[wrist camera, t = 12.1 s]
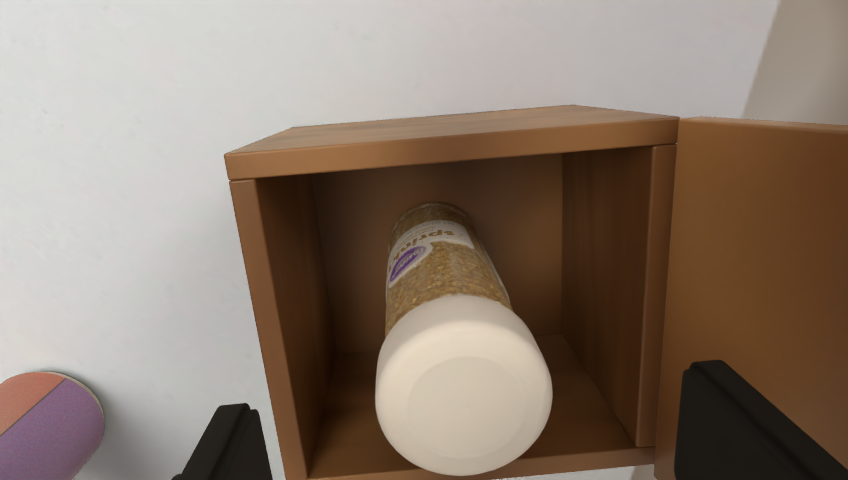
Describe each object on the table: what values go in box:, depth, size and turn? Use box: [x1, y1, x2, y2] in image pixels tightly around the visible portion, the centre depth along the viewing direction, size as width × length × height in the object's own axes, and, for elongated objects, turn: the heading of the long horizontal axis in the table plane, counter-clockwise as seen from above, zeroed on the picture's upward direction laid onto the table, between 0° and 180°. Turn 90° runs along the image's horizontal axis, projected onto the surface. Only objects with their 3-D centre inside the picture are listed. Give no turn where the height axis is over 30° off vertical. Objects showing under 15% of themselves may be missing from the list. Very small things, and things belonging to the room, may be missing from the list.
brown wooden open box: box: [224, 105, 680, 480], centre depth 21 cm, size 14×13×10 cm
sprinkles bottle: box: [375, 202, 553, 476], centre depth 19 cm, size 5×5×13 cm
